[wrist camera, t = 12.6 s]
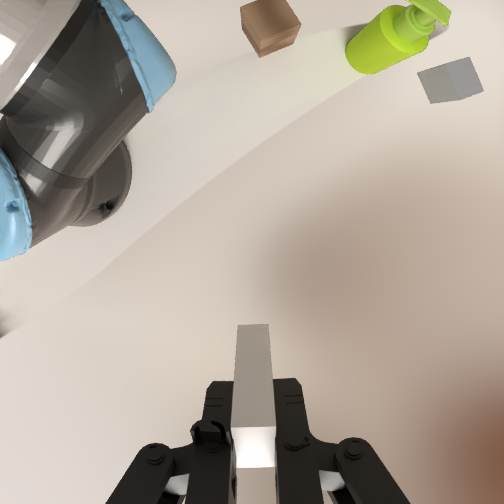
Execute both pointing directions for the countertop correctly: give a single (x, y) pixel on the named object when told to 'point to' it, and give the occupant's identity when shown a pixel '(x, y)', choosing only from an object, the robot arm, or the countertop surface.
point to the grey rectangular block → (451, 81)
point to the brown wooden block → (269, 25)
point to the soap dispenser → (395, 35)
